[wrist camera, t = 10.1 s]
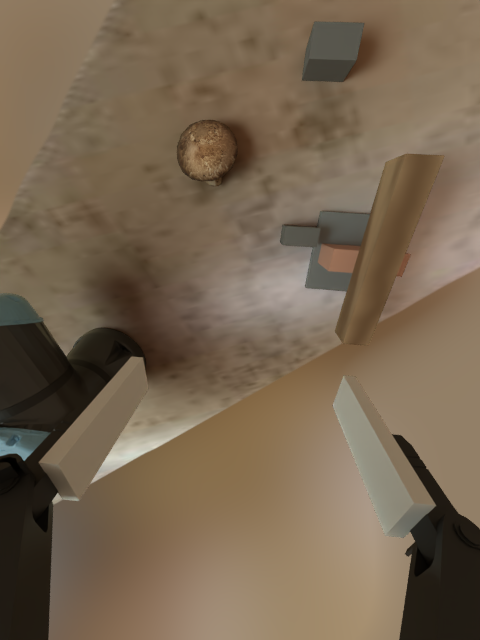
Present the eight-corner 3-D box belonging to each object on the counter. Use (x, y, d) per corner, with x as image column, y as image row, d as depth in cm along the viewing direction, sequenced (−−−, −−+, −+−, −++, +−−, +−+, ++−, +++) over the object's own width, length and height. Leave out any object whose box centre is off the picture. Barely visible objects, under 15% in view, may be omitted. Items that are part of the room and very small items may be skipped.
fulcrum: (304, 286, 38) (314, 300, 31) (320, 211, 32) (335, 210, 26) (372, 291, 37) (396, 306, 31) (400, 216, 32) (435, 216, 25)
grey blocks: (280, 242, 35) (282, 245, 31) (306, 49, 25) (314, 21, 21) (310, 244, 34) (316, 247, 31) (348, 50, 25) (364, 22, 21)
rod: (334, 331, 33) (343, 343, 30) (385, 162, 23) (406, 153, 20) (357, 333, 33) (368, 345, 30) (418, 163, 23) (444, 155, 20)
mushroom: (223, 207, 30) (208, 169, 24) (180, 190, 32) (157, 151, 26) (251, 161, 30) (243, 113, 24) (207, 147, 32) (190, 99, 26)
